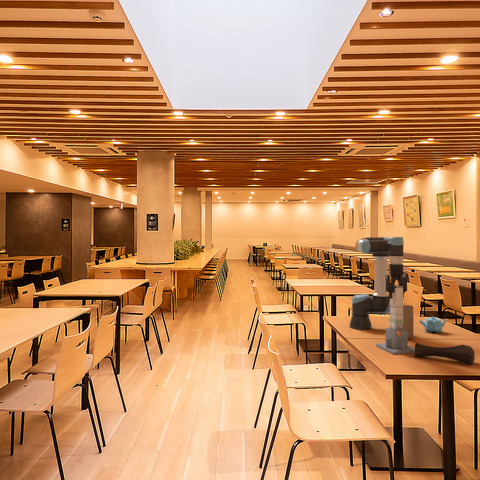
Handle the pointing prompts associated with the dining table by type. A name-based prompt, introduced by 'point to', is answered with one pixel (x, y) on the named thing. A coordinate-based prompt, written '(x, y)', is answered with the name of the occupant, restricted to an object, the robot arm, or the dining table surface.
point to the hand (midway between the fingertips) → (396, 303)
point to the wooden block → (408, 320)
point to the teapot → (433, 324)
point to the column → (397, 310)
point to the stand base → (396, 342)
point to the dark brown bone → (447, 352)
